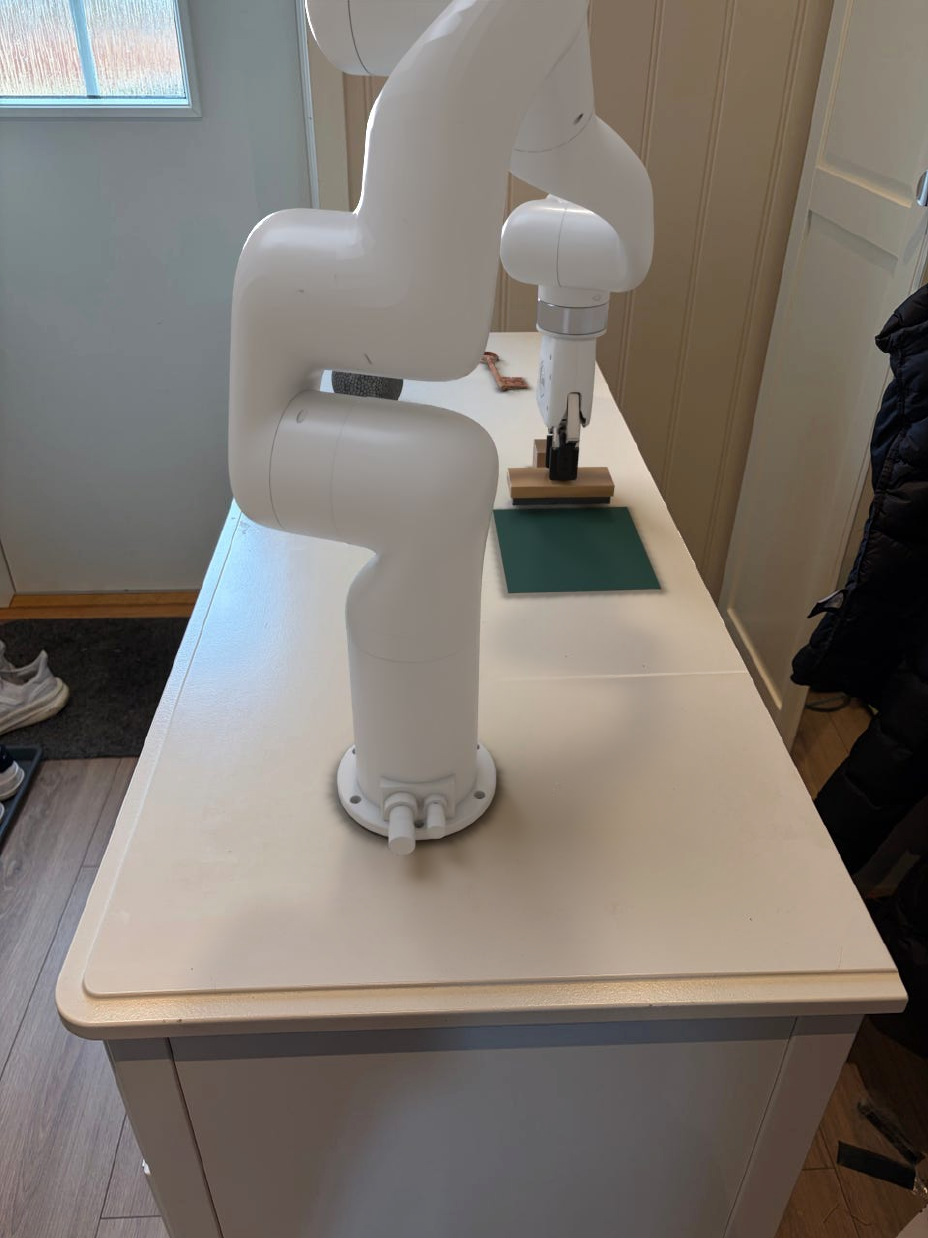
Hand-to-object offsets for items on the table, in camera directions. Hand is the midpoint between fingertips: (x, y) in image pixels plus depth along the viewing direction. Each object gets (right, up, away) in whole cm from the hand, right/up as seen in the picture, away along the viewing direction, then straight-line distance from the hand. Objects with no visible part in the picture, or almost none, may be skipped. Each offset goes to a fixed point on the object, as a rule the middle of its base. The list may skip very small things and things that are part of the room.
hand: (560, 472), depth 115 cm
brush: (0, -3, +2) cm, 3 cm away
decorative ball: (-25, +12, +25) cm, 37 cm away
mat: (+1, -9, -5) cm, 11 cm away
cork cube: (0, +1, +10) cm, 10 cm away
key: (-6, +21, +39) cm, 44 cm away
